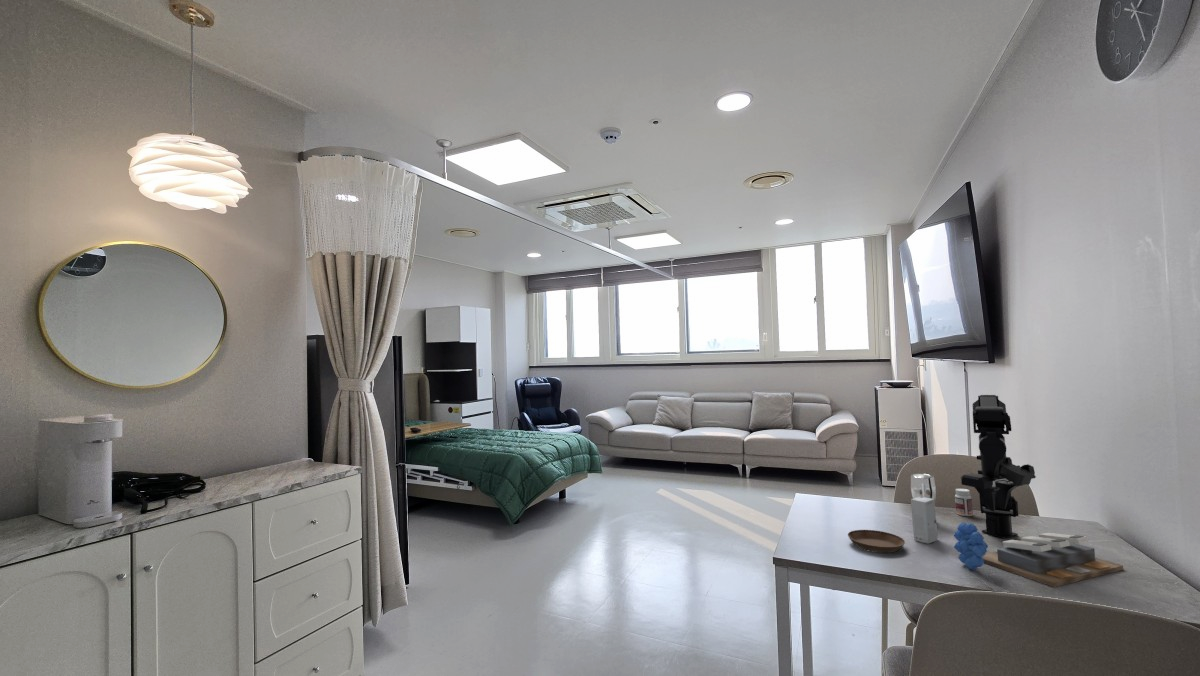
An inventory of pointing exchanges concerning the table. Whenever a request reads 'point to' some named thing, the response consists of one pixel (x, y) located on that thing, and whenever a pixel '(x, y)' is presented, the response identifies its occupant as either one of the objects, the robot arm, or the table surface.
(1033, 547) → the rocker
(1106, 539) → the table surface
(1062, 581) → the switch panel
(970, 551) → the grapes
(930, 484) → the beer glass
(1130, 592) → the table surface
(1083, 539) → the rocker
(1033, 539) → the rocker middle
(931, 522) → the skincare box
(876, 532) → the saucer
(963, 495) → the pill bottle
